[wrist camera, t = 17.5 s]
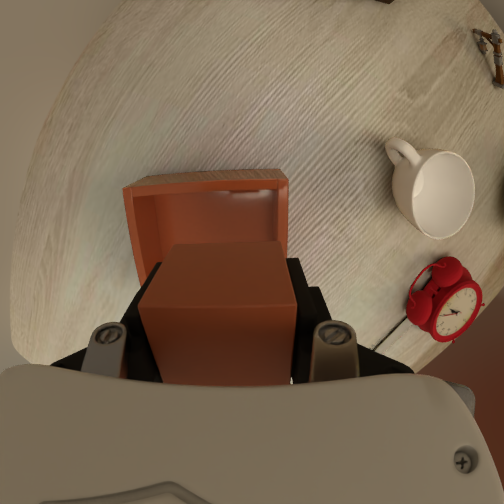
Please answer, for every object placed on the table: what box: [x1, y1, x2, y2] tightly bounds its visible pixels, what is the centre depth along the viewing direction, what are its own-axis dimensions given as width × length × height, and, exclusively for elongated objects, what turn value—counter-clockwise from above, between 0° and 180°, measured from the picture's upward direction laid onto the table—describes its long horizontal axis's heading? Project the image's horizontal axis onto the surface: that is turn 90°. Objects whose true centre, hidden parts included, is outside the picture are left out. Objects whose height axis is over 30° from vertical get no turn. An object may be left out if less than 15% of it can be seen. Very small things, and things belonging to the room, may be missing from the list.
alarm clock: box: [406, 257, 485, 343], centre depth 28 cm, size 10×6×15 cm
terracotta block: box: [138, 241, 297, 386], centre depth 10 cm, size 4×4×4 cm
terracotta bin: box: [123, 169, 289, 287], centre depth 24 cm, size 13×12×6 cm
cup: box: [385, 137, 475, 239], centre depth 21 cm, size 8×10×7 cm
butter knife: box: [375, 318, 412, 354], centre depth 36 cm, size 1×27×3 cm
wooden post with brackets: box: [472, 29, 504, 89], centre depth 16 cm, size 2×8×4 cm, turn 33°
